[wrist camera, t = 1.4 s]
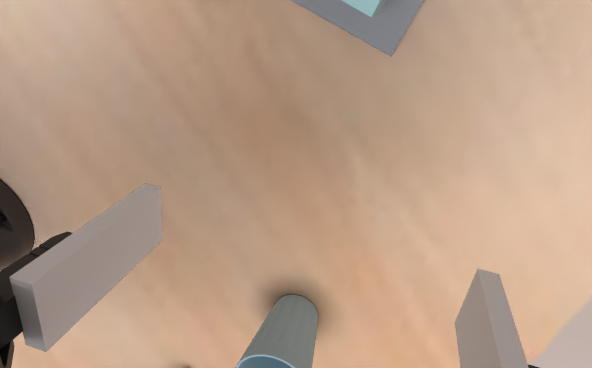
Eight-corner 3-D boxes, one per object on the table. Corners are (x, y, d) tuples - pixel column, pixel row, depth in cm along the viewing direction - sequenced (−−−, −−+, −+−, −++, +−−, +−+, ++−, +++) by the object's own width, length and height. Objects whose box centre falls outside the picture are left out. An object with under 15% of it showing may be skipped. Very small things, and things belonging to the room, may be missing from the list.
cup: (263, 282, 48) (229, 349, 39) (326, 289, 46) (306, 362, 37) (268, 330, 51) (239, 403, 42) (327, 339, 49) (310, 417, 40)
